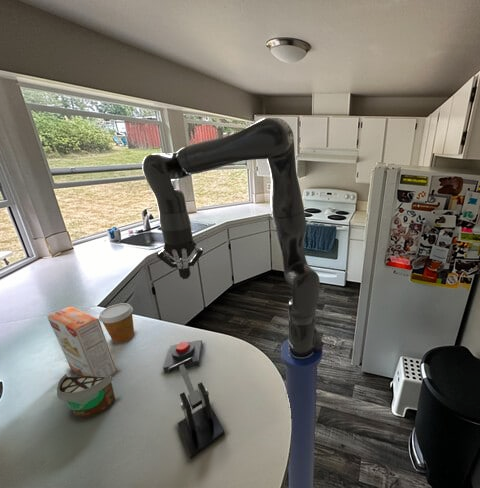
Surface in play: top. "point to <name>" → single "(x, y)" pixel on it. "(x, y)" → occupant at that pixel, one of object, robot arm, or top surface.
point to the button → (182, 347)
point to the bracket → (199, 424)
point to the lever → (188, 383)
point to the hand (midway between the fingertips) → (186, 277)
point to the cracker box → (82, 342)
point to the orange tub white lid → (118, 322)
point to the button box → (184, 355)
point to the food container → (86, 394)
